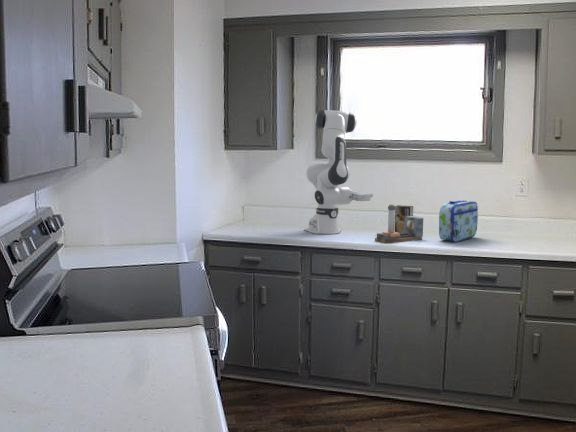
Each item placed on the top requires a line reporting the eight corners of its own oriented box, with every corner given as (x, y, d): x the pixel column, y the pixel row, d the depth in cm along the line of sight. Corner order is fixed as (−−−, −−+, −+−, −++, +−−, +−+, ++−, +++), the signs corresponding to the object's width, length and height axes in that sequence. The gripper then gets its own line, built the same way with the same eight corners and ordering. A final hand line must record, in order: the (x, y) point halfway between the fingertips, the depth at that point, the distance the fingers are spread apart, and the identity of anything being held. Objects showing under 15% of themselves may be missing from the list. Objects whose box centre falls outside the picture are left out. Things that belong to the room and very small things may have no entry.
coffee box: (413, 234, 350) (414, 205, 348) (409, 236, 344) (410, 207, 342) (397, 233, 354) (398, 204, 352) (393, 234, 348) (394, 206, 346)
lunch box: (453, 243, 321) (455, 203, 318) (435, 241, 329) (437, 201, 326) (479, 237, 339) (481, 199, 336) (461, 235, 347) (463, 197, 344)
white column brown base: (382, 235, 330) (382, 204, 327) (390, 234, 333) (391, 203, 330) (391, 237, 324) (391, 205, 321) (399, 236, 327) (400, 204, 325)
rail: (374, 240, 329) (374, 218, 327) (409, 236, 342) (410, 215, 341) (386, 243, 321) (387, 221, 319) (422, 239, 334) (423, 217, 332)
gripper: (357, 192, 304) (379, 190, 311) (332, 187, 321) (354, 185, 328) (357, 204, 305) (378, 203, 312) (332, 199, 322) (353, 197, 329)
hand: (366, 194), depth 320 cm, fingers open, 8 cm apart
